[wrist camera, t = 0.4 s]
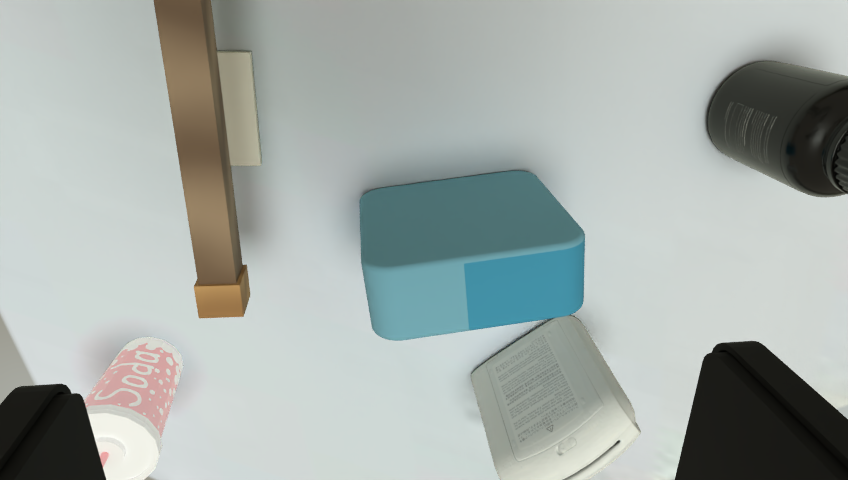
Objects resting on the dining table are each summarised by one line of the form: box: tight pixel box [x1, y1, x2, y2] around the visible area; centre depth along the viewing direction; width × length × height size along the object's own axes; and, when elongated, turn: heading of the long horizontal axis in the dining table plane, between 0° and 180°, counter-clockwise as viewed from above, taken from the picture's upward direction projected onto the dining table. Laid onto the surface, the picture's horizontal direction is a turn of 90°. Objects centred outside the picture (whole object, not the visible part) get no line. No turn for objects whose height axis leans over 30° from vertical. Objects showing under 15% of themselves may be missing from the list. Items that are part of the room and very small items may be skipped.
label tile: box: [217, 51, 262, 166], centre depth 36 cm, size 7×5×1 cm
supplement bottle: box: [708, 61, 848, 197], centre depth 35 cm, size 7×7×12 cm
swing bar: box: [154, 0, 250, 318], centre depth 29 cm, size 21×4×2 cm, turn 179°
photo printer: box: [471, 315, 641, 480], centre depth 42 cm, size 10×4×12 cm, turn 127°
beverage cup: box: [84, 337, 184, 480], centre depth 38 cm, size 6×6×14 cm
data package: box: [360, 171, 585, 341], centre depth 36 cm, size 12×4×12 cm, turn 96°
